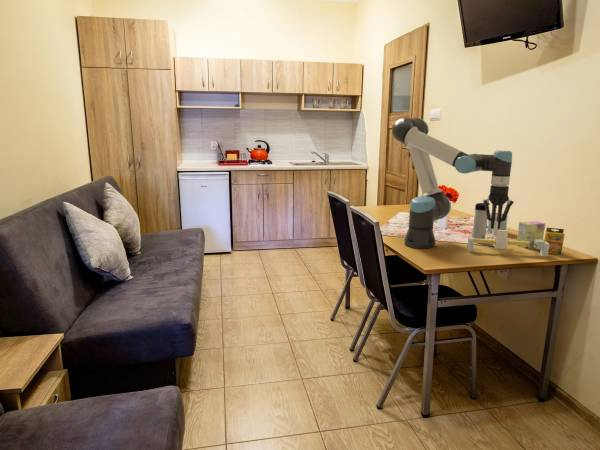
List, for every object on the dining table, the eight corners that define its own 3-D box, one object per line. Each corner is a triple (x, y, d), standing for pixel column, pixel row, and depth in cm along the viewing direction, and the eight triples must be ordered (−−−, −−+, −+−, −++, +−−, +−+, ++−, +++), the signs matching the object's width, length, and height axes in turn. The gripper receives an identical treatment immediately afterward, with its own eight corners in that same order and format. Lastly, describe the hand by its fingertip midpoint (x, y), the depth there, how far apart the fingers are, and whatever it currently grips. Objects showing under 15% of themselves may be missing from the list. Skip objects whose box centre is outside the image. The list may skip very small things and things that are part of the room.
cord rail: (468, 251, 195) (469, 237, 193) (467, 249, 199) (468, 235, 197) (547, 256, 188) (549, 241, 186) (544, 253, 192) (546, 239, 190)
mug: (505, 231, 232) (507, 213, 229) (505, 235, 224) (507, 217, 221) (479, 228, 238) (481, 211, 235) (477, 232, 230) (479, 214, 227)
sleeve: (495, 248, 192) (497, 231, 190) (493, 245, 196) (495, 228, 194) (507, 248, 191) (509, 232, 189) (504, 245, 195) (506, 229, 193)
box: (533, 243, 208) (536, 220, 206) (542, 246, 203) (545, 223, 200) (515, 244, 206) (518, 221, 203) (524, 248, 201) (527, 224, 198)
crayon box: (543, 252, 194) (547, 228, 191) (542, 250, 196) (545, 227, 193) (561, 254, 191) (565, 230, 188) (560, 252, 194) (564, 228, 191)
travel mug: (486, 243, 209) (491, 204, 204) (472, 242, 210) (477, 203, 205) (483, 239, 215) (488, 202, 210) (470, 239, 216) (474, 201, 211)
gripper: (486, 185, 185) (480, 236, 190) (517, 186, 182) (511, 238, 188) (482, 183, 192) (477, 232, 197) (513, 184, 189) (507, 234, 195)
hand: (494, 235), depth 192 cm, fingers closed
